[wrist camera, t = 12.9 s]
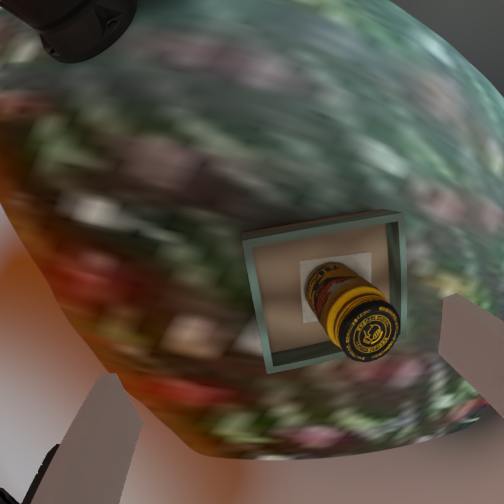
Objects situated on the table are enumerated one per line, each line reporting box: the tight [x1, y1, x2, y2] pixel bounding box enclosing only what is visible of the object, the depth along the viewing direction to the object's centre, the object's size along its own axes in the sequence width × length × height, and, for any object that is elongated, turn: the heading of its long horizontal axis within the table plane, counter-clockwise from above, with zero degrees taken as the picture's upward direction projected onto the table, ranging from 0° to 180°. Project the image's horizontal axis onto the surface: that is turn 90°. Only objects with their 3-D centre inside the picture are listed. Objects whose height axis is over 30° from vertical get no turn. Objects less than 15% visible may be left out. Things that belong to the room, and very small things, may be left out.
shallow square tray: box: [241, 209, 407, 374], centre depth 33 cm, size 15×17×8 cm
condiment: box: [299, 252, 401, 362], centre depth 27 cm, size 7×8×12 cm
